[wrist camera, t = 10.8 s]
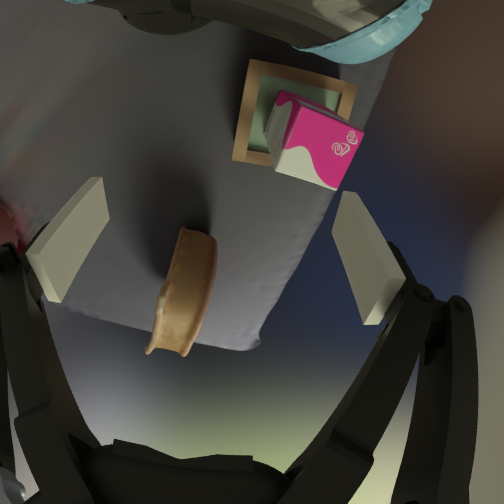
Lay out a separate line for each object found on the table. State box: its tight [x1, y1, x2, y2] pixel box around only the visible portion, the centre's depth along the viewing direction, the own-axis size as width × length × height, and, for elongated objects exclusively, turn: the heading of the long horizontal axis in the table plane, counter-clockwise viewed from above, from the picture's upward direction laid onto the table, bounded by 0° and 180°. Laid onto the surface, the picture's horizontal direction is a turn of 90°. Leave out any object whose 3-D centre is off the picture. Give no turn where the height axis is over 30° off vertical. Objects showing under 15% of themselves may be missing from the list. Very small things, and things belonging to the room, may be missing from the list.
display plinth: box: [232, 59, 358, 167], centre depth 31 cm, size 12×12×7 cm
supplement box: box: [263, 90, 364, 191], centre depth 25 cm, size 6×6×12 cm
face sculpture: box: [145, 227, 218, 356], centre depth 43 cm, size 20×7×17 cm, turn 159°
